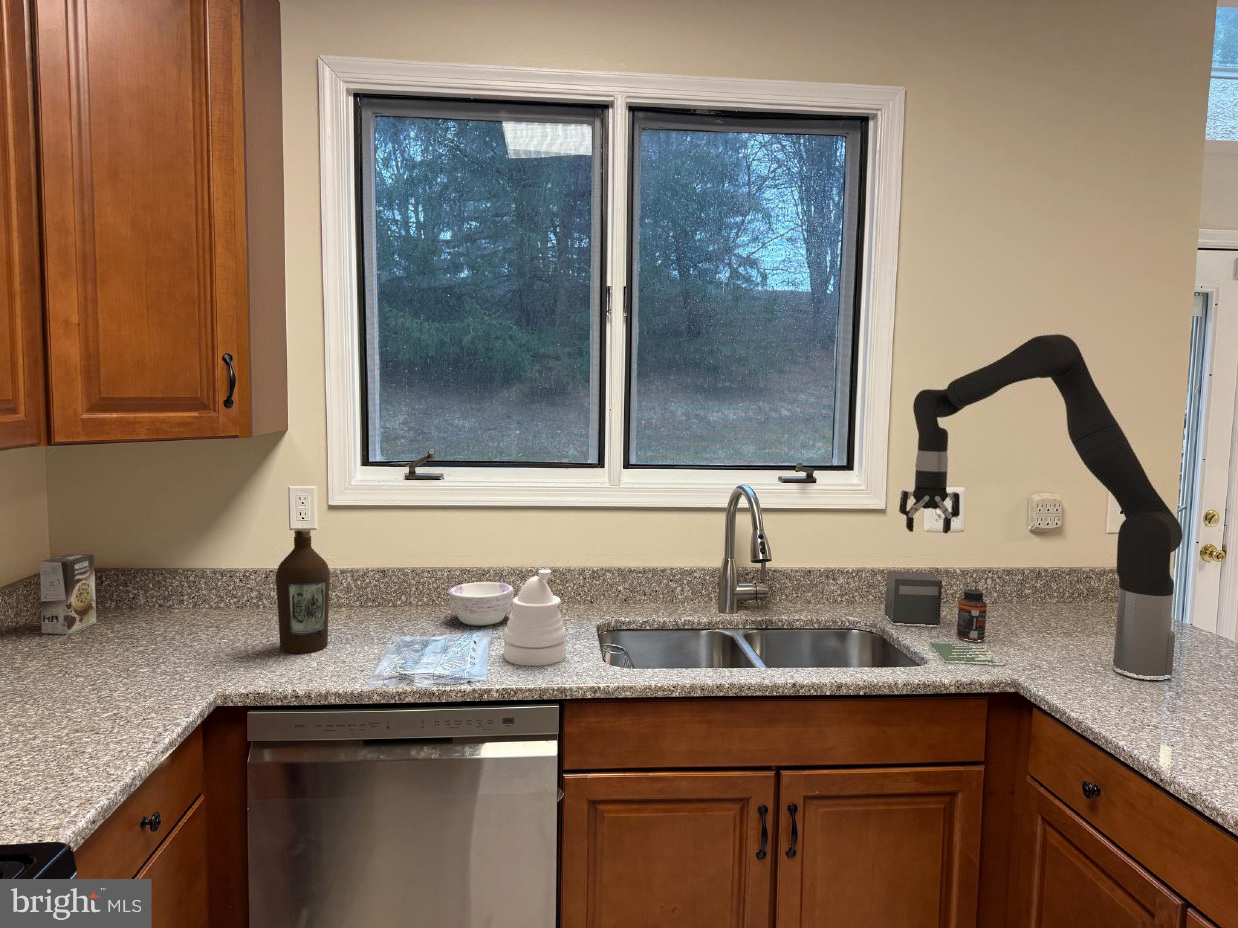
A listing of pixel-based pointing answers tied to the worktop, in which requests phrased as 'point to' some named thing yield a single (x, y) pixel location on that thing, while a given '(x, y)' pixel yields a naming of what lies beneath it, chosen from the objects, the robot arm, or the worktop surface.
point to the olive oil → (303, 598)
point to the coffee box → (67, 593)
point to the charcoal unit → (913, 597)
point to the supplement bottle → (972, 616)
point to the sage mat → (946, 651)
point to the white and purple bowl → (481, 602)
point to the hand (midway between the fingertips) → (928, 532)
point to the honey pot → (535, 626)
